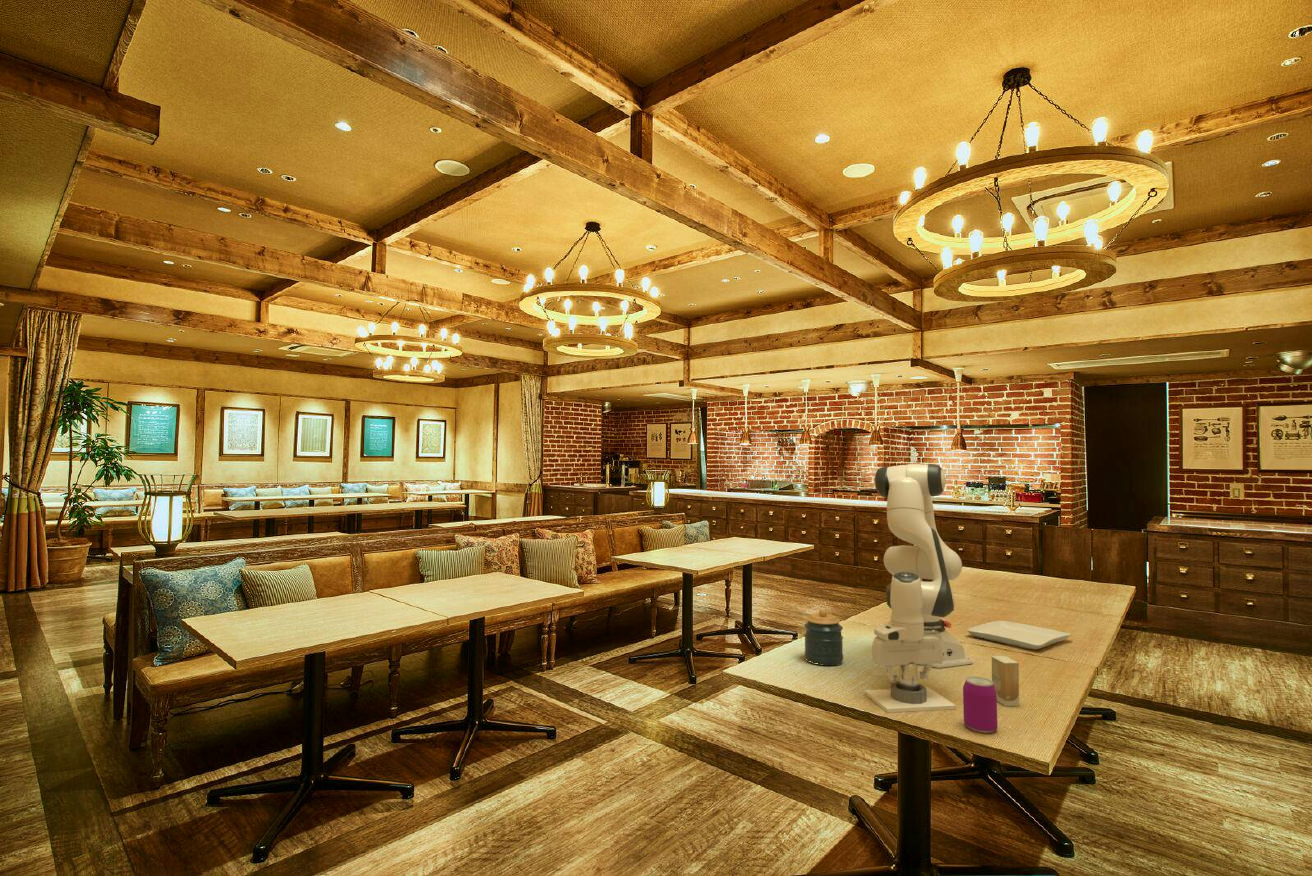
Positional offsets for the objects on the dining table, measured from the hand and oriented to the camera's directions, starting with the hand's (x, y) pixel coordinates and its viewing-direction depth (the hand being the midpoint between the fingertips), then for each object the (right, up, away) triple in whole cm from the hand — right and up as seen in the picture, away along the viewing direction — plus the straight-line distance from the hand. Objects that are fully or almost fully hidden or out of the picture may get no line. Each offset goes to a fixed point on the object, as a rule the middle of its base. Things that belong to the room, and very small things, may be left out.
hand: (908, 679), depth 174 cm
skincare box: (+27, -6, -1) cm, 28 cm away
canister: (-14, -8, +36) cm, 40 cm away
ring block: (0, -6, 0) cm, 6 cm away
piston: (0, -5, 0) cm, 5 cm away
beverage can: (+11, -6, -18) cm, 22 cm away
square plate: (+68, -10, +62) cm, 93 cm away
